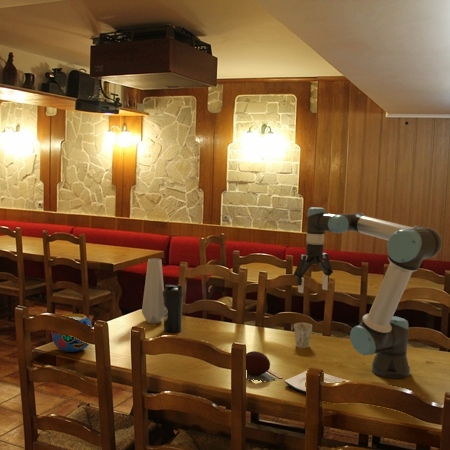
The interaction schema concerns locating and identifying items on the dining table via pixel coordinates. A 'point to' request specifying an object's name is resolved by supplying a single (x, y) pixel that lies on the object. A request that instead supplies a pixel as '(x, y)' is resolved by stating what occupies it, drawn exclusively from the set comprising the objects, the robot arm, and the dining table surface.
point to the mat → (260, 377)
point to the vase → (153, 292)
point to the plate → (300, 380)
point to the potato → (257, 363)
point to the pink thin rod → (275, 374)
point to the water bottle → (173, 308)
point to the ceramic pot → (70, 342)
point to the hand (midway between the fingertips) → (312, 291)
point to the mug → (302, 334)
